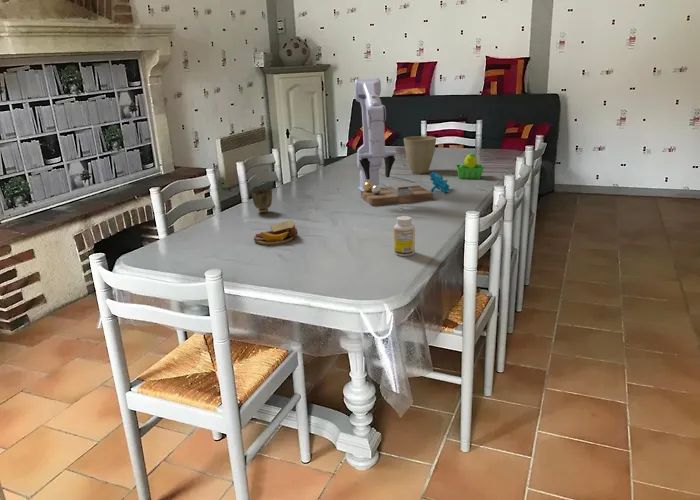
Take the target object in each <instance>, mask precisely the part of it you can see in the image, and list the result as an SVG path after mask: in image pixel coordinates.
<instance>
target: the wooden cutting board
mask: <svg viewBox="0 0 700 500" xmlns="http://www.w3.org/2000/svg"><path fill="white" fill-rule="evenodd" d="M407 186H408V187H409V188H411V189H412V195H404V196H397V195H395V194H393V193H392V192H390V191H389V188H381V192H380V193H379V194H374V193H373V192H372V191H370V192H367V191H361V190H360V198H361V199H363V200H364V201H365V202H366V203H367V204H369V205H370V206H372V207H374V206H383V205H392V204H402V203H412V202H421V201H422V202H423V201H430V200H431V199H432V200H433V198H434V197H433V196H434V194H433V191H431V190H428V189H426V188H424V187H422V186H420V185H411V186H409V185H407Z"/></svg>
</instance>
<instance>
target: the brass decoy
mask: <svg viewBox="0 0 700 500" xmlns="http://www.w3.org/2000/svg"><path fill="white" fill-rule="evenodd" d="M373 186H374V185H373V183H372V182H369V181H368V182H365V183H364V185H363V188H364V190H365V191H367V192H370V191H372V187H373Z"/></svg>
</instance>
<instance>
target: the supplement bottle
mask: <svg viewBox="0 0 700 500" xmlns="http://www.w3.org/2000/svg"><path fill="white" fill-rule="evenodd" d="M412 222H413V221H412V217H411V216H407V215H402V216H398V217H396V224H395V225H394V226H393V234H394V235H393V238H394V239H393V240H394V241H393V242H394V253H395V255H397V256H401V257H410V256H412V255H414V254H415V251H416V249H415V243H416V242H415V239H416V238H415V232H416V231H415V230H416V229H415V224H414V223H412Z"/></svg>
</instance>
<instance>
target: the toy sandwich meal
mask: <svg viewBox="0 0 700 500" xmlns="http://www.w3.org/2000/svg"><path fill="white" fill-rule="evenodd" d="M270 229H271V230H269V231H268V230H267V231H260V233H259V232H258V233H256V234H255V235H254V236H253V240H254V241H255V242H256V243H257V244H259V245H265V246H274V245H275V246H276V245H283V244H286V243H289V242H291V241H292V240H293V239H294V238H295V237H296V236H297V235H298V229H297V228H296V225H295V222H294V221H292V220H287V221H282V222H279V223H275V224H271V225H270Z"/></svg>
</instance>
